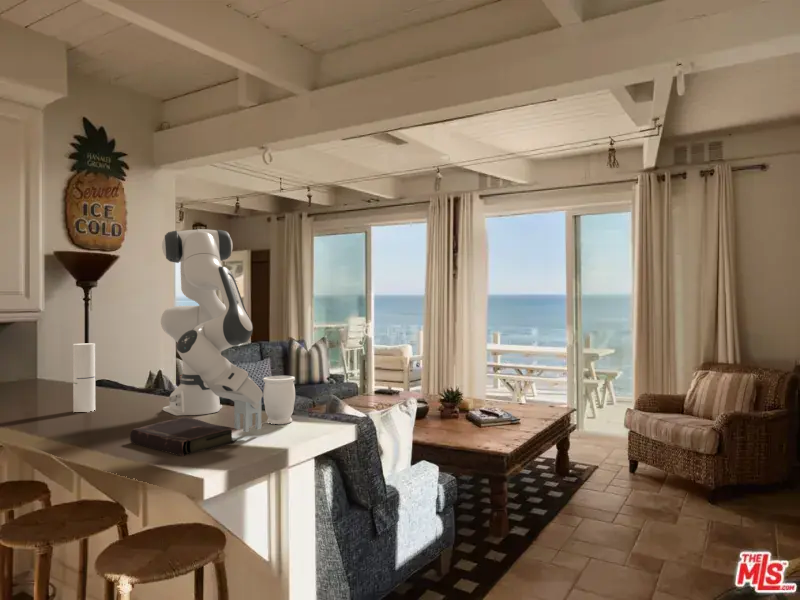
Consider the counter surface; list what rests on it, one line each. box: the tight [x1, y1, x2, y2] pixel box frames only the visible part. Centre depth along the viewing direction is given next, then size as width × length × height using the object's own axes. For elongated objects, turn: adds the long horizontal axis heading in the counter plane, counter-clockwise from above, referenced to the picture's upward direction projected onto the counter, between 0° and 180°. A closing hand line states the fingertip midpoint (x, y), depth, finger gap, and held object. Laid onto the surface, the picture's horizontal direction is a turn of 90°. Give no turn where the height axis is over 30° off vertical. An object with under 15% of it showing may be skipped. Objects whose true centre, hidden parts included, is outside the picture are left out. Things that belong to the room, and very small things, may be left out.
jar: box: [262, 375, 296, 425], centre depth 188 cm, size 11×10×15 cm
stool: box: [233, 399, 262, 433], centre depth 169 cm, size 6×6×9 cm
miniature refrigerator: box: [72, 342, 96, 413], centre depth 210 cm, size 7×7×25 cm
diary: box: [129, 416, 238, 457], centre depth 162 cm, size 19×25×5 cm
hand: (249, 405), depth 170 cm, fingers closed on stool, 6 cm apart
